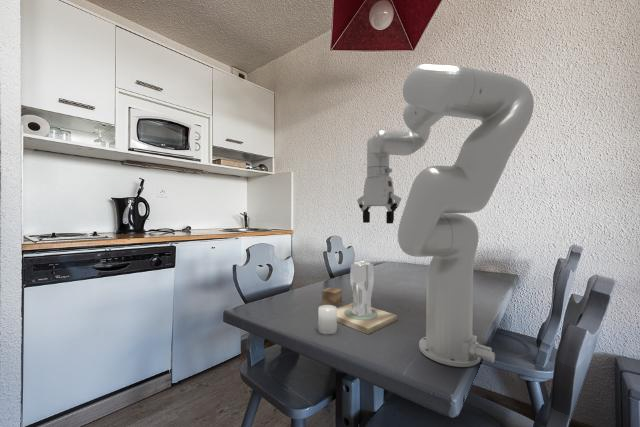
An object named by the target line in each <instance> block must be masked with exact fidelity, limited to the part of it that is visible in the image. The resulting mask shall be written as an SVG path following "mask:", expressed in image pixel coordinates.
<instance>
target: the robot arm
mask: <svg viewBox="0 0 640 427" xmlns="http://www.w3.org/2000/svg"><path fill="white" fill-rule="evenodd" d="M402 97H403V99H404V100H403V101H405V102H406V104H407V105H406V106H405V107H404V110H403V111H402V112H403V114H402V117H403V121H404V124H405V125H406V126H407V128H408V129H409V130H410V131H403V130H393V129H392V130H391V129H379V130H378V131H376V132H375V134H374V135H373V136H372V137H370V138H368V140H367V144H366V177H365V178H364V179H365V181H364V186H363V195H362V196H361V197H359V198H357V199H356V201H357V204H358V207H359V208H360V210H361V212H362V223H364V224H365V223H370V222H371V211H370V210H371V207H385V209H386V210H387V211H386V215H385V216H386V224H387V225H388V224H394V220H395V212H396V210H397V208H398V207H399V205H400V203H401V201H402V198H401V197H400V196H398V195H396V194H395V192H394V191H395V190H394V182H393V178H392V176H390V173H393V168H392V167H391V168H390V156H391V155H393V156H405V157H406V156H410V155H413V154H414V153H416V152H417V151H419V150H421V149H422V148H423V147H424V146H425V145H426V143H427V142H428V140H429V137H430V133H431V127H433V126H434V125H435V124H436V123H437V122H439V121H440V120H441V119H443V118H444V117H445V116H446V117H452V118H462V119H468V120H471V119H472V120H478V121H480V122H481V123H480V125H479V126H477V127H476V128H475V129H474V130H473V131H472V132H471V133H470V134H469V135H468V136H467V138H466V139H465V141H464V142H463V143H462V145H461V148H460V150H459V153H458V156H457V157H456V160H455V162H454V163H453V165H431V166H428V167H426V168H424V169H422V170H421V171H420V172H419V173H418V175H417V176H416V177H415V178H414V180H413V181H412V182H413V183H412V184H411V187H410V190H409V193H408V196H407V199H406V203H405V205H404V209H403V212H402V214H401V218H400V221H399V224H398V230H397V241H398V243H397V244H399V248H400V249H401V251H402V252H404V254H406V255H408V256H410V257H419V258H422V257H425V258H427V257H432V258H431V260H430V262H429V263H428V264H429V265H428V266H427V267H428V268H427V271H426V284H425V285H426V286H425V287H426V288H425V289H426V294H425V295H426V297H425V298H426V299H425V300H426V303H425V304H426V309H425V310H426V312H425V313H426V316H425V317H426V320H425V323H426V324H425V325H426V326H425V336H424V337H421V339H420V340H419V342H418V348H419V350H420V352H421V354H423V355H424V356H425V357H427V358H428V359H430V360H432V361H435V362H437V363H439V364H442V365H446V366H450V367H456V368H469V367H470V368H471V367H474V366H477V365H478V364H480V362H481V359H483V361H487V362H489V363H495V359H496V354H495V352H493V351H492V347H490V346H486V345H483V344H480V342H478V335H474V334H473V332H474V331H473V328H474V327H473V326H474V325H473V321H474V319H473V318H474V317H473V316H474V315H473V313H474V312H473V311H474V309H473V305H474V301H473V299H474V296H473V295H474V292H473V291H474V267H475V257H476V254H477V249H478V246H479V245H478V243H479V238H480V235H479V229H478V227H477V225H476V223H475V222H474V221H473V219H471V218H470V217H468V216H466V215H464V214H473V213H477V212H480V211H482V210H483V209H484V208H485V207H486V206H487V204H489V201H490V199H491V197H492V195H493V194H494V191H495V189H496V187H497V185H498V183H499V181H500V179H501V176H502V174H503V173H504V171H505V168H506V166H507V163H508V161H509V159H510V157H511V155H512V153H513V151H514V150H515V148H516V146H517V144H518V143H519V141H520V139H521V138H522V137H523V134H524V133H525V131H526V129H527V127H528V126H529V124H530V121H531V119H532V116H533V112H534V101H535V100H534V96H533V93H532V91H531V89H530V88H529V86H528V85H527V84H525V83H524V82H523V81H521V80H520V79H518V78H516V77H514V76H511V75H507V74H503V73H498V72H493V71H488V70H482V69H476V68H472V67H466V66H459V65H449V64H430V63H422V64H420V65H417V66H416V67H415V68H413V69H412V70H411V71H410V72H409V73H408V75H407V77H406V78H405V80H404V83H403V85H402Z"/></svg>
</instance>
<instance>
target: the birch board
mask: <svg viewBox="0 0 640 427" xmlns="http://www.w3.org/2000/svg"><path fill="white" fill-rule="evenodd" d="M352 306H353V302H351V303H348V304H346V305H343V306H340V307H339V306H338V307H337V323H339V324H342V325H344V326H346V327H348V328H352V329H354V330H356V331H358V332H361V333H363V334H366V335H369V334H371V333H374V332H375V331H378V330H380V329H382V328H384V327H387V326H389V325H390V324H392V323H394V322H396V321H398V315H397V314H394V313H392V312H388V311H385V310H381V309H379V308H376V307H372V306H371V309H372V315H370V316H366V317H361V316H356V315H353V314H352Z"/></svg>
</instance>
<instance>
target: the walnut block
mask: <svg viewBox="0 0 640 427" xmlns="http://www.w3.org/2000/svg"><path fill="white" fill-rule="evenodd" d="M321 292H322V293H321V296H322V298H321V306H322V305H333V306H335V307H337V308H338V307H339V306H340V305H342V304H341V303H343V289H341V288H335V287H331V286H330V287H327V288H325V289H323V290H322V291H321ZM338 305H339V306H338Z"/></svg>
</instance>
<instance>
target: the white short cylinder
mask: <svg viewBox="0 0 640 427" xmlns="http://www.w3.org/2000/svg"><path fill="white" fill-rule="evenodd" d="M337 308H338V306H337V307H335V306H333V305H322V304H321V305H319V307H318V309H317V310H318V313H317V314H318V317H317V319H318V324H317V325H318V330H317V331H318V332H319V333H320V334H323V335H333V334H335V333H337V331H338V322H337Z"/></svg>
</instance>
